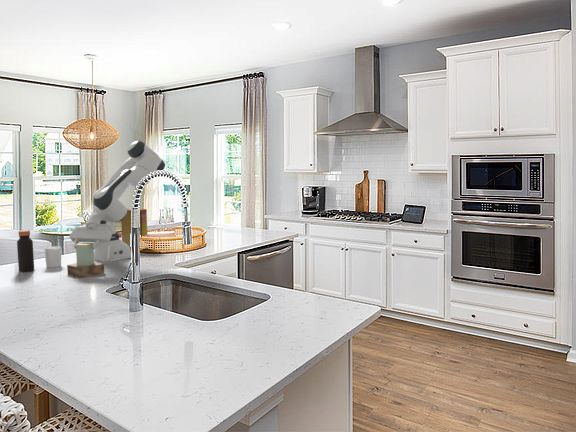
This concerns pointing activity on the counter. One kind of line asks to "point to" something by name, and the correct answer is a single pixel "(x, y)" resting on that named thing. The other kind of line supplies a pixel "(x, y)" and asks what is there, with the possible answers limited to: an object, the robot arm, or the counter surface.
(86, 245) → the tin
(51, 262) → the white cup
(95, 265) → the walnut block
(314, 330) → the counter surface
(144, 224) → the food packaging
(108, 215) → the robot arm
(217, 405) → the counter surface
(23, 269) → the bottle
